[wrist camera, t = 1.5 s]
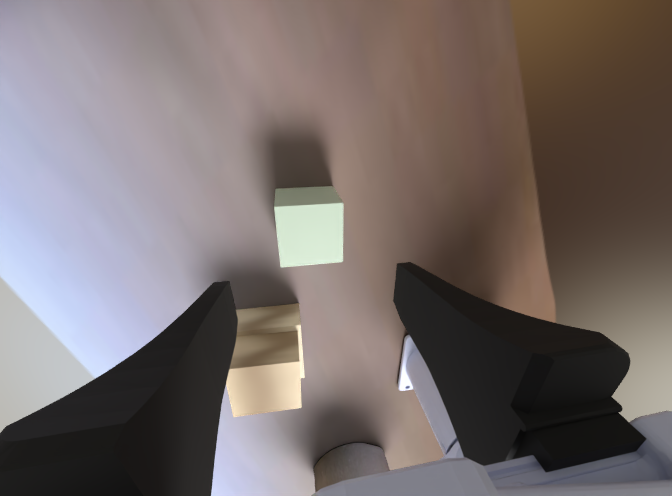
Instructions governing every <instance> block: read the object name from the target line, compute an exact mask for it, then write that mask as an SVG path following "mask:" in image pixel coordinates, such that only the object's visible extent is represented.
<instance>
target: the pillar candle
mask: <svg viewBox="0 0 672 496" xmlns="http://www.w3.org/2000/svg"><path fill="white" fill-rule="evenodd" d="M386 471H390V470H389V467H388V463H387V460H386V457H385V454H384V451H383V450H382V449H381V448H380V447H378V446H373V445H369V444H365V443H351V444H346V445H343V446H340V447H337V448H335V449H333V450H331V451H330V452H328V453H327V454H325V455H324V456H323V457H322V458H321V459H320V460H319V461H318V463H317V464H316V465H315V467H314V476H315V491H316V492H317V491H318V490H320V489H321V488H324V487H327V486H330V485H333V484H335V483H338V482H341V481H344V480H349V479H354V478H358V477H363V476H368V475H372V474H377V473H382V472H386Z"/></svg>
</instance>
